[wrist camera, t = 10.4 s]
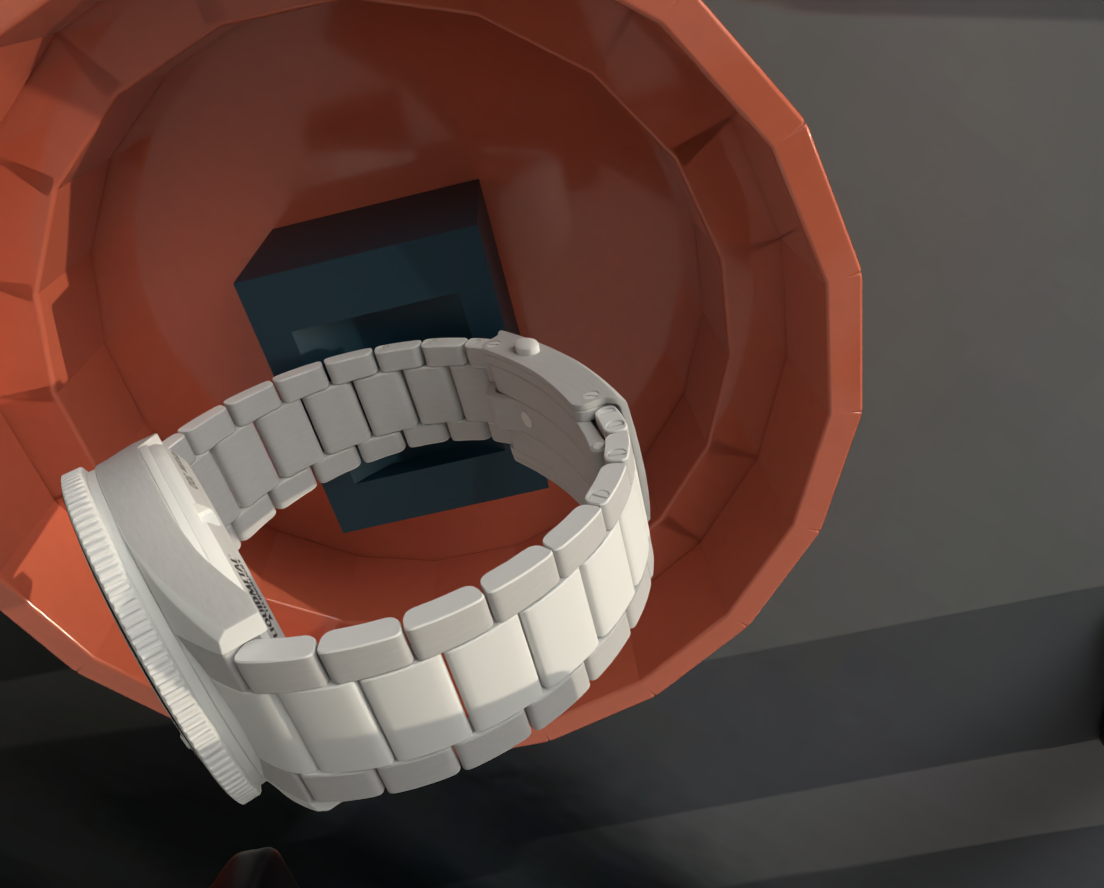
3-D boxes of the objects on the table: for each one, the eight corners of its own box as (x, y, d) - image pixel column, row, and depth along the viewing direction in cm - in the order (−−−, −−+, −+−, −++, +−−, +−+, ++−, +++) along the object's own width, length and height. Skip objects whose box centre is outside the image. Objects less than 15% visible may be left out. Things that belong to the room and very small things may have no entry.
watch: (180, 251, 18) (-179, 628, 8) (565, 156, 17) (659, 440, 8) (284, 474, 20) (108, 943, 11) (616, 399, 20) (729, 821, 11)
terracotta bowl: (787, 531, 23) (863, 686, 18) (204, 641, 24) (133, 818, 19) (743, -215, 15) (863, -282, 10) (-155, -10, 15) (-440, 17, 11)
